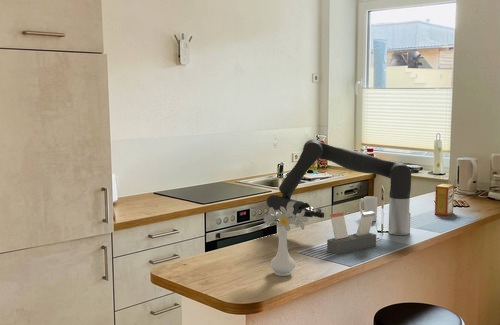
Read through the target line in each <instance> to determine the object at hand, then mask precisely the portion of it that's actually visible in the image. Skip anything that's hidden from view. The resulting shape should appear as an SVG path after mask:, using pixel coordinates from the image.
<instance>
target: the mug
mask: <svg viewBox="0 0 500 325" xmlns="http://www.w3.org/2000/svg"><path fill="white" fill-rule="evenodd" d="M362 203H363V209H362ZM358 209H359V212H360V214H361V215H362V213H363V212H369V211H373V212H374V213H375V214H374V217H373V221H372V223H373V222H376V221H377V217H378V216H377V214H378V197H377V196H373V195H372V196H371V195H369V196H367V195H366V196H364V197H363V198H360V201H359V203H358Z"/></svg>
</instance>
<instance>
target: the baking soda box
mask: <svg viewBox="0 0 500 325" xmlns="http://www.w3.org/2000/svg"><path fill="white" fill-rule="evenodd" d="M454 195H455V185H454V184H448V183H441V184H438V185H435V198H434V199H435V200H434V201H435V202H434V215H435V216H442V217H447V216H450V215H453V213H454V198H455V197H454Z"/></svg>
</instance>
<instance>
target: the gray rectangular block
mask: <svg viewBox="0 0 500 325" xmlns="http://www.w3.org/2000/svg"><path fill="white" fill-rule="evenodd" d="M326 240H327V242H326V245H327V246H326V248H327V249H326V251H327V252H328V253H332V254H335V255H341V254H345V253H349V252H353V251H359V250H363V249H366V248H367V249H368V248H371V247H376V246H377V234H376V233H373V232H369V234H365V235H360V236H359V235H357V234H356V233H353V234H348V237H346V238H341V239H335V237H333V238H328V239H326Z"/></svg>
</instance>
